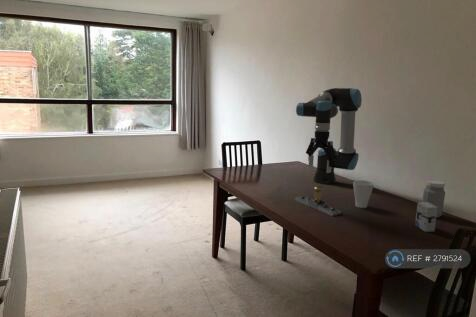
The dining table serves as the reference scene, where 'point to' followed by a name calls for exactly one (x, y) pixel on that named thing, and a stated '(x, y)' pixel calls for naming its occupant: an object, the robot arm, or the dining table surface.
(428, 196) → the jar
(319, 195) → the pin
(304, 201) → the grey long bar piece
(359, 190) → the cup
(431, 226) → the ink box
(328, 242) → the dining table surface
